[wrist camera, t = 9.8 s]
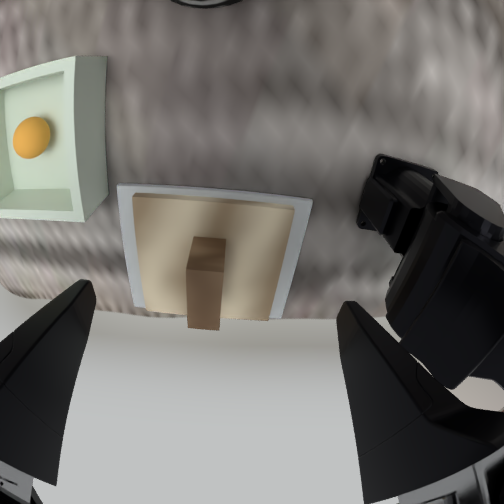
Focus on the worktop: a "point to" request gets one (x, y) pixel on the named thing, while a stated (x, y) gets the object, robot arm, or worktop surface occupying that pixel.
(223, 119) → the worktop surface
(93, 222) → the worktop surface
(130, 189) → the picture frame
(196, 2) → the white-spotted black cylinder
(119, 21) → the worktop surface
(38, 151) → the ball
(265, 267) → the cover
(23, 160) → the dish
